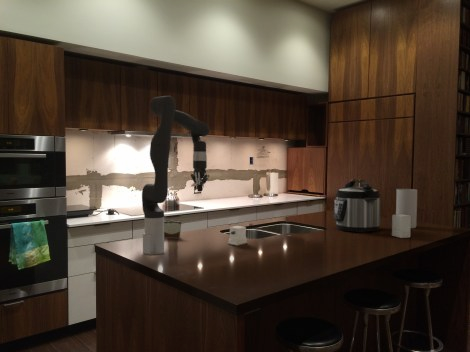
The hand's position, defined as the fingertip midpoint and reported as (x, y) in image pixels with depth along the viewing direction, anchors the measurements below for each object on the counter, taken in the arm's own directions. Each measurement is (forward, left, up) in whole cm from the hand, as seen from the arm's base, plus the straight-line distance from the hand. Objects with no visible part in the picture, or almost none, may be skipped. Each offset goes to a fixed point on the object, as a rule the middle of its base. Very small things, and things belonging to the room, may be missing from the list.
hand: (199, 191), depth 215 cm
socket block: (+6, -22, -27) cm, 36 cm away
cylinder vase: (+120, -73, -27) cm, 143 cm away
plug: (+6, -23, -26) cm, 35 cm away
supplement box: (+85, -81, -27) cm, 121 cm away
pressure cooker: (+89, -52, -27) cm, 107 cm away
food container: (-5, +17, -27) cm, 32 cm away
